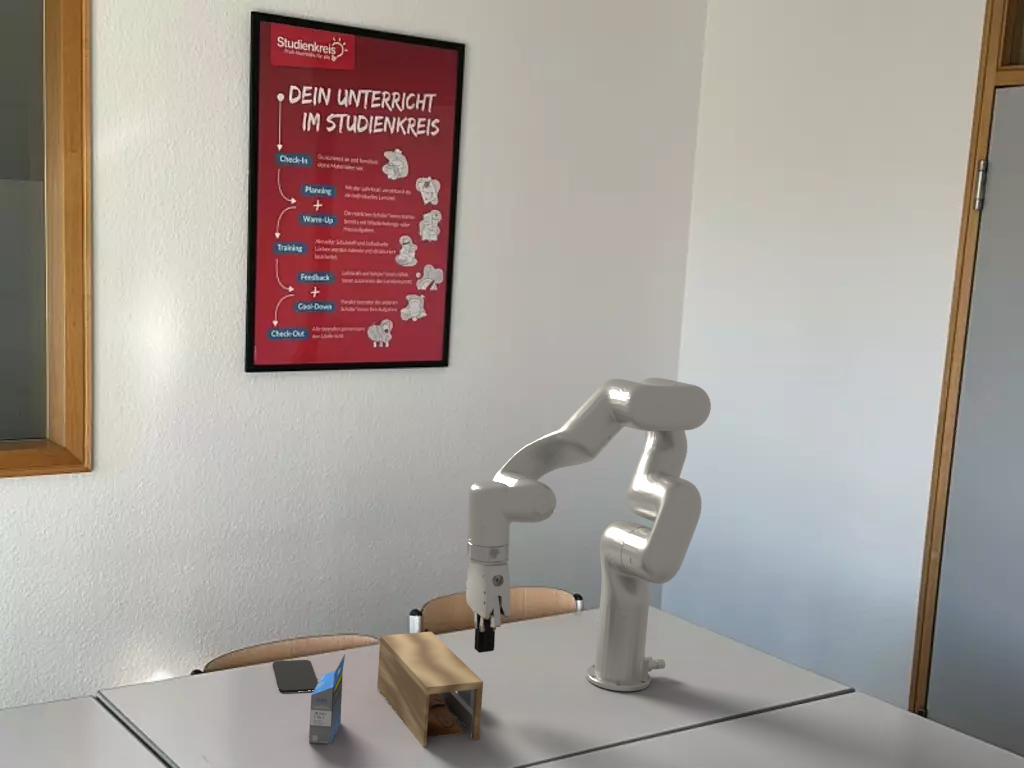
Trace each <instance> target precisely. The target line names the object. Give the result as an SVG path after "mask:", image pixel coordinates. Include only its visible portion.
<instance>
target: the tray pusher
mask: <svg viewBox="0 0 1024 768" xmlns="http://www.w3.org/2000/svg"><path fill="white" fill-rule="evenodd" d="M474 693H475V689H472V690H463V691H454V692H444V693H438V694H439V695H440V696H441V698H442V699H443V700H444V701H445V703H446V705H447V707H448V708H449V710H450V711H451V712H452V714H453V715H454V716H455V717H456V718H457V719H458V720H459V721H460V722H461V723H462V724H463V725H464V726H465V727H466V729H467V730H468V731H469V732H470V733H471V734H472V722H473V708H474Z"/></svg>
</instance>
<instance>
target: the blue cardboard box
mask: <svg viewBox="0 0 1024 768" xmlns="http://www.w3.org/2000/svg"><path fill="white" fill-rule="evenodd" d="M345 659H346V654H345V653H344V654H343V656H342V658H341V661H339V664H338V666H337V668H336V669H335V670H333V671H330V672H327V673H324V674H322V675H321V676H320V679H319V680H318V684H317V686H316V688H315V690H314V691H313V692H311V693H312V694H311V696H310V697H311V698H310V714H309V715H310V716H309V731H308V732H309V733H308V743H310V744H313V743H316V745H327V744H330V745H331V744H332V742H333V741H334V738H335V736H336V733H337V732H338V730H339V727H340V725H341V722H342V719H341V718H342V717H341V716H342V696H343V695H342V694H343V678H344V677H343V673H344V664H345Z"/></svg>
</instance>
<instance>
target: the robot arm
mask: <svg viewBox="0 0 1024 768" xmlns="http://www.w3.org/2000/svg"><path fill="white" fill-rule="evenodd" d="M711 410H712V403H711V399H710V396H709V395H708V393H707V392H706V390H704V389H703V388H702V387H700V386H698V385H695V384H692V383H691V384H690V383H686V382H681V381H677V380H673V379H667V378H661V377H650V378H645V379H643V380H642V381H640V382H636V381H632V380H629V379H628V380H627V379H621V378H612V379H609V380H606V381H604V382H603V383H602V384H600V385H599V386H598V387H597V388H596V390H595V391H594V392H593V393H592V394H590V396H588V398H587V399H586V400H585V401H584V403H582V404H581V406H580V407H578V409H576V411H575V412H574V413H573V414H572V415H571V416H570V417H569V418H568V419H567V420H566V421H565V423H563V424H562V425H561V426H560V427H559V428H557V429H556V430H554V431H552V432H549V433H547V434H545V435H543V436H542V437H539V438H538V439H536V440H534V441H532V442H531V443H528V444H527V445H525V446H523V447H522V448H520V449H519V450H518V451H517V452H516V453H514V454H513V455H512V457H510V459H508V460H507V461H506V462H505V464H504V465H502V467H500V469H499V470H498V471H497V473H496V474H495V475H494V477H493V478H492V480H482V481H477V482H475V483H472V484H471V486H470V487H469V491H468V510H467V511H468V512H467V534H466V535H467V539H466V541H467V542H466V560H467V561H468V562H467V573H466V584H465V599H466V600H465V601H466V603H467V605H468V607H470V609H471V611H472V612H473V616H474V620H473V621H474V622H473V623H474V627H475V628H474V650H475V651H477V652H478V653H486V652H487V653H488V652H493V651H494V650H495V641H496V639H495V638H496V637H495V636H496V631H497V628H500V627H501V623H502V622H501V616H502V617H504V618H509V617H510V614H511V581H510V570H509V569H510V568H509V564H508V562H509V561H510V540H511V539H510V538H511V524H512V523H523V524H537V523H542V522H545V521H546V520H547V519H549V518H550V517H551V516H553V514H554V513H555V510H556V507H557V497H556V495H555V492H554V491H553V489H552V488H551V487H550V486H549V485H547V484H546V483H543V482H541V481H540V479H541V478H542V477H544V476H545V475H548V474H549V473H551V472H553V471H556V470H558V469H562V468H567V467H573V466H578V465H579V466H580V465H582V464H586V463H589V462H592V461H593V460H594V459H596V458H597V456H599V454H601V452H602V451H603V450H604V449H605V448H606V447H607V446H608V445H609V443H610V442H611V441H612V440H613V439H614V438H615V437H616V436H617V435H618V434H619V433H620V432H621V431H622V430H623V428H625V427H627V428H631V429H634V430H638V431H644V434H645V435H644V438H645V439H644V443H643V447H642V450H641V453H640V456H639V459H638V461H637V464H636V466H635V469H634V471H633V474H632V477H631V480H630V482H629V485H628V488H627V490H626V495H625V504H626V506H627V508H628V509H629V511H631V512H632V513H633V514H634V515H636V516H639V517H640V518H642V519H645V520H647V521H651V522H653V525H652V528H651V527H649V526H646V525H643V524H641V523H638V522H635V521H631V520H627V519H625V520H624V519H623V520H617V521H613V522H612V523H610V524H609V525H608V526H606V528H605V529H604V530H603V532H602V534H601V537H600V540H599V560H600V568H601V586H600V587H601V588H600V589H601V590H600V600H599V609H598V612H599V613H598V622H597V623H598V625H597V633H596V634H597V635H596V636H597V637H596V647H595V648H596V649H595V661H594V664H592V665H590V666H589V667H587V669H586V674H585V675H586V679H587V680H588V681H589V682H590V683H591V684H593V685H595V686H597V687H599V688H602V689H605V690H610V691H615V692H636V691H641V690H644V689H646V688H648V687H649V686H650V685H651V678H652V677H651V675H650V674H649V672H652V671H653V670H663V669H665V667H666V662H665V659H664V658H657V659H653V657H652V656H645V654H646V644H647V643H646V642H647V634H648V633H647V632H648V620H649V619H648V618H649V607H650V601H651V595H650V593H651V592H650V584H649V583H651V584H655V585H663V584H666V583H669V582H670V581H671V580H672V579H673V578H674V577H676V575H677V573H678V572H679V570H680V569H681V567H682V565H683V562H684V560H685V557H686V554H687V553H688V549H689V547H690V544H691V543H692V542H691V541H692V539H693V536H694V534H695V532H696V529H697V526H698V524H699V520H700V517H701V513H702V496H701V493H700V491H699V489H698V488H697V486H696V485H695V484H694V483H693V482H691V481H689V480H687V479H685V478H681V475H682V474H681V473H682V471H683V467H684V465H685V461H686V459H687V454H688V440H687V438H688V437H687V435H686V431H692V430H695V429H697V428H700V427H701V426H703V425H704V424H705V423H706V422H707V420H708V418H709V417H710V414H711Z"/></svg>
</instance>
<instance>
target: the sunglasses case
mask: <svg viewBox="0 0 1024 768" xmlns="http://www.w3.org/2000/svg"><path fill="white" fill-rule="evenodd" d="M456 718H457V717H456V716H455V714H454V713H453V712H452V711H451V710H450V709H449V708H448V706H447V705H446V703H445V701H444V700H443V699H442V698H441V696H440V695H439V694H438V693H435V694H429V710H428V725H427V738H433V737H435V738H436V737H444V736H452V735H459V734H464V729H463V727H462V726H461V724H460V723H459V721H458V719H456Z"/></svg>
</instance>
